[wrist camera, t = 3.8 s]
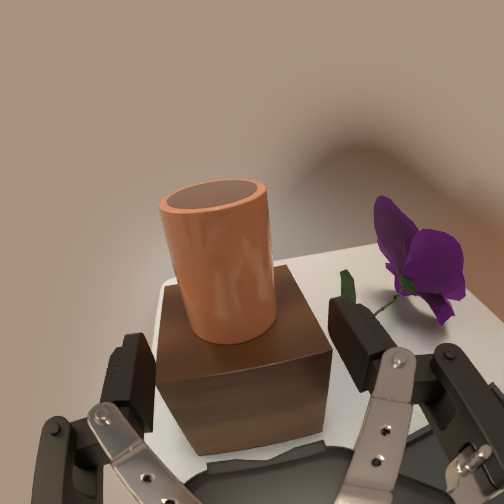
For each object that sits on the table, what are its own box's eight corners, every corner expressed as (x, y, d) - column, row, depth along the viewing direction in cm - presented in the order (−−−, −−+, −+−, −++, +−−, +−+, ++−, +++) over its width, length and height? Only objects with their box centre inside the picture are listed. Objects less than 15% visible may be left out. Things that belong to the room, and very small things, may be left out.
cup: (241, 358, 18) (216, 218, 13) (172, 324, 21) (137, 206, 17) (293, 302, 22) (286, 181, 18) (226, 281, 26) (208, 176, 21)
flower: (396, 402, 28) (472, 321, 28) (368, 351, 20) (473, 235, 20) (331, 332, 40) (397, 270, 41) (281, 265, 32) (368, 190, 33)
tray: (405, 587, 7) (415, 588, 6) (349, 468, 18) (353, 460, 18) (545, 475, 9) (557, 466, 8) (485, 393, 21) (492, 381, 20)
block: (322, 431, 22) (333, 349, 17) (197, 455, 21) (154, 383, 16) (290, 349, 32) (286, 264, 27) (192, 368, 31) (164, 286, 26)
